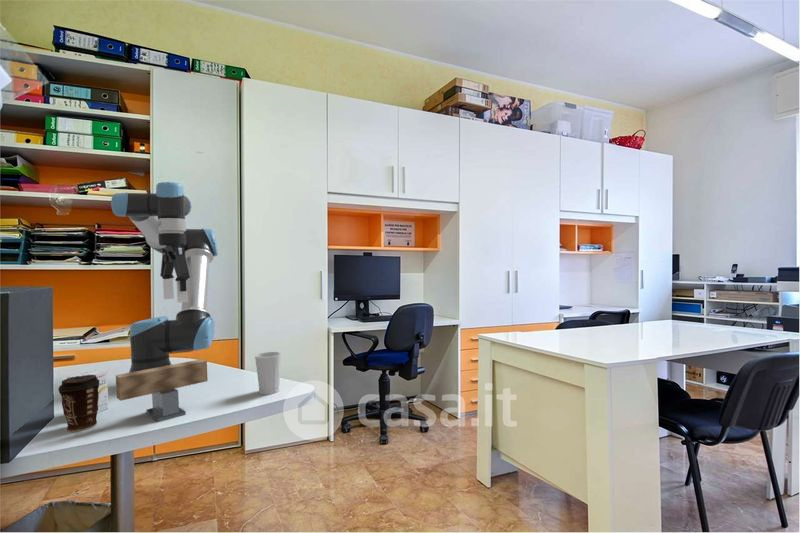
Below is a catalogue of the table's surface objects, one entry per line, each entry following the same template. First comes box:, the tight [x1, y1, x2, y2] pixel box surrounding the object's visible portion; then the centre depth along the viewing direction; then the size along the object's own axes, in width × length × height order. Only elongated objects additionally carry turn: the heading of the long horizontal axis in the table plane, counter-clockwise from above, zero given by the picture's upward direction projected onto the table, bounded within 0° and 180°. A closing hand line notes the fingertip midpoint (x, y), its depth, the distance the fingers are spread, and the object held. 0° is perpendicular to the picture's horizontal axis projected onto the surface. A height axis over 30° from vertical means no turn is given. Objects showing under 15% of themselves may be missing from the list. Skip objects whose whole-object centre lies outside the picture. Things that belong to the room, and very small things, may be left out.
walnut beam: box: [115, 359, 209, 402], centre depth 116 cm, size 22×4×6 cm, turn 135°
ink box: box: [66, 369, 109, 414], centre depth 118 cm, size 9×5×12 cm, turn 168°
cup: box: [254, 351, 282, 395], centre depth 133 cm, size 8×8×12 cm
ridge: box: [145, 388, 187, 423], centre depth 116 cm, size 11×7×7 cm, turn 45°
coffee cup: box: [58, 375, 100, 433], centre depth 108 cm, size 9×8×13 cm
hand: (175, 300), depth 129 cm, fingers open, 13 cm apart
